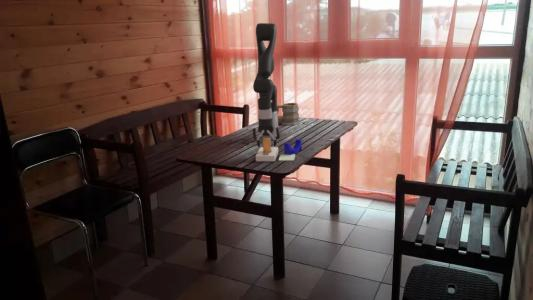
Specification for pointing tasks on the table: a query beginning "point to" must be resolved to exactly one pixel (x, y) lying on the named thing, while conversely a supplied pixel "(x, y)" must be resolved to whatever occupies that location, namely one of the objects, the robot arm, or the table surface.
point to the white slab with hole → (267, 154)
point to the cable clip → (295, 149)
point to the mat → (286, 157)
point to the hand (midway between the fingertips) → (267, 146)
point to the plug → (266, 145)
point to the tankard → (289, 114)
